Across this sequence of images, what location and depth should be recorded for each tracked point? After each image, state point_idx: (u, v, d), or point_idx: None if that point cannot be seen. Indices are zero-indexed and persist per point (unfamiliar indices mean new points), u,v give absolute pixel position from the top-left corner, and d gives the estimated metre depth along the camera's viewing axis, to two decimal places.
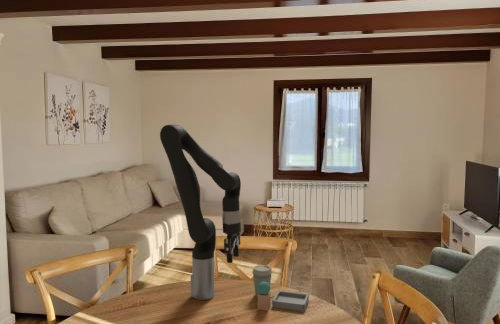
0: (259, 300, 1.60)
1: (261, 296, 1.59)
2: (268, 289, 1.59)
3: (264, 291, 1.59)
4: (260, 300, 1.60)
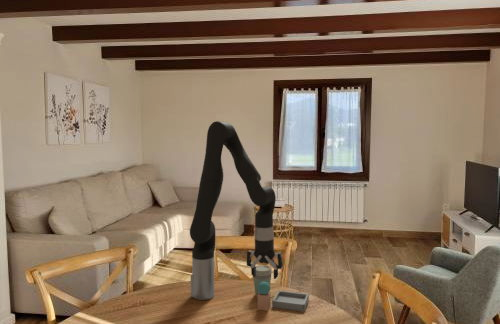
0: (259, 300, 1.60)
1: (261, 296, 1.59)
2: (268, 289, 1.59)
3: (264, 291, 1.59)
4: (260, 300, 1.60)
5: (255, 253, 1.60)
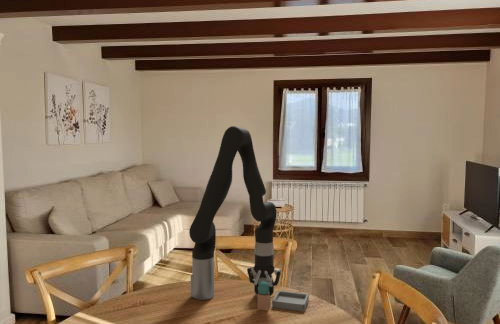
0: (259, 300, 1.60)
1: (261, 296, 1.59)
2: (268, 289, 1.59)
3: (264, 291, 1.59)
4: (260, 300, 1.60)
5: (255, 268, 1.60)
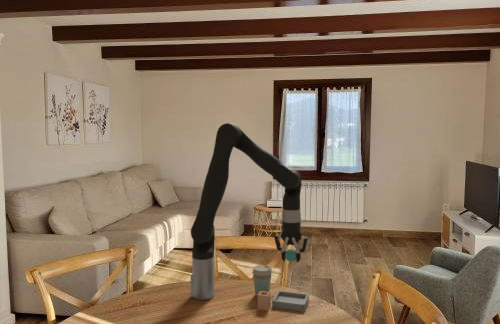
0: (259, 300, 1.60)
1: (261, 296, 1.59)
2: (295, 256, 1.62)
3: (291, 258, 1.62)
4: (260, 300, 1.60)
5: (282, 235, 1.63)
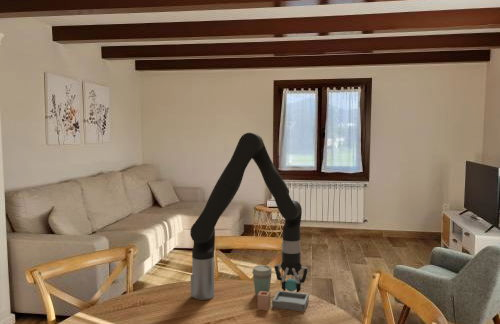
0: (259, 300, 1.60)
1: (261, 296, 1.59)
2: (295, 286, 1.63)
3: (292, 288, 1.63)
4: (260, 300, 1.60)
5: (282, 265, 1.64)
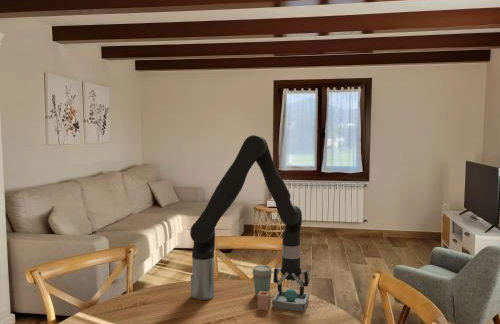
0: (259, 300, 1.60)
1: (261, 296, 1.59)
2: (295, 296, 1.64)
3: (291, 298, 1.63)
4: (260, 300, 1.60)
5: (282, 270, 1.64)
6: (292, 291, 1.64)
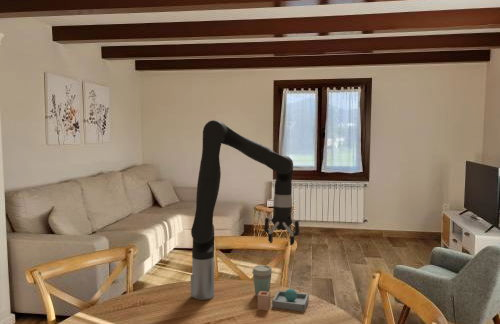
0: (259, 300, 1.60)
1: (261, 296, 1.59)
2: (295, 296, 1.64)
3: (291, 298, 1.63)
4: (260, 300, 1.60)
5: (273, 220, 1.66)
6: (292, 291, 1.64)
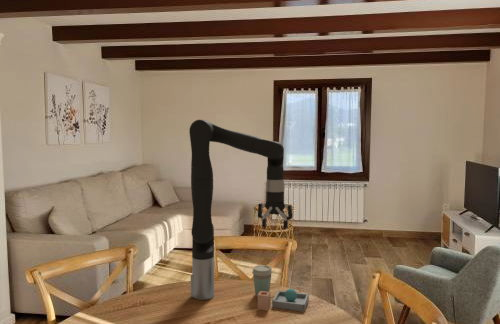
0: (259, 300, 1.60)
1: (261, 296, 1.59)
2: (295, 296, 1.64)
3: (291, 298, 1.63)
4: (260, 300, 1.60)
5: (266, 205, 1.67)
6: (292, 291, 1.64)
